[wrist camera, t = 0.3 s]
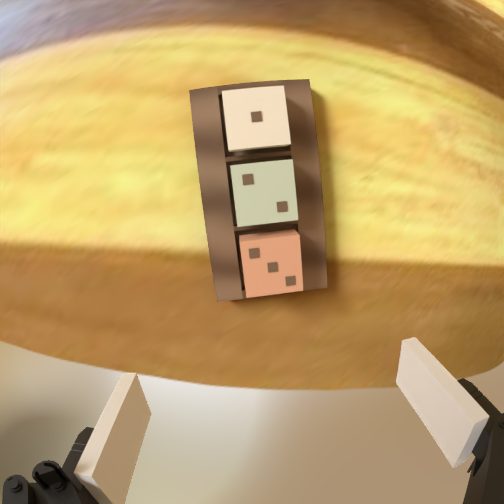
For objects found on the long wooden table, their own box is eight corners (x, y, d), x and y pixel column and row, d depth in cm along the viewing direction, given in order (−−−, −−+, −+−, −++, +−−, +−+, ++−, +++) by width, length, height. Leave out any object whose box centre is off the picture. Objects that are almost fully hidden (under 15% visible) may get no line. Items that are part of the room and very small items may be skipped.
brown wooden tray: (192, 94, 32) (189, 90, 30) (305, 84, 32) (309, 79, 30) (218, 294, 38) (217, 301, 36) (322, 281, 39) (327, 287, 36)
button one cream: (223, 97, 30) (221, 90, 27) (279, 92, 30) (283, 85, 27) (229, 151, 32) (228, 150, 29) (286, 146, 32) (291, 143, 29)
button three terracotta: (239, 235, 34) (239, 242, 31) (294, 229, 34) (299, 235, 31) (245, 287, 36) (246, 298, 33) (298, 280, 36) (303, 290, 33)
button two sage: (230, 165, 32) (230, 165, 29) (287, 160, 32) (292, 159, 29) (237, 221, 34) (237, 227, 31) (293, 215, 34) (298, 220, 31)
